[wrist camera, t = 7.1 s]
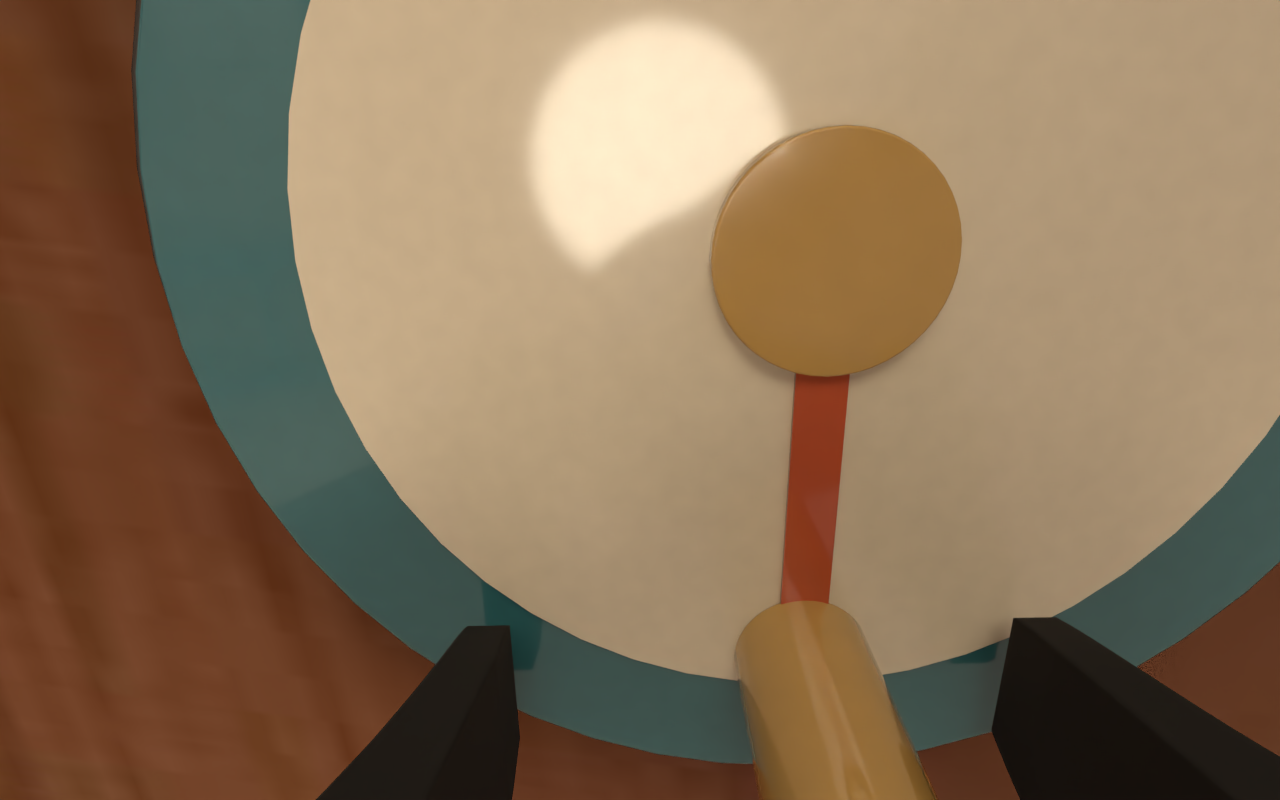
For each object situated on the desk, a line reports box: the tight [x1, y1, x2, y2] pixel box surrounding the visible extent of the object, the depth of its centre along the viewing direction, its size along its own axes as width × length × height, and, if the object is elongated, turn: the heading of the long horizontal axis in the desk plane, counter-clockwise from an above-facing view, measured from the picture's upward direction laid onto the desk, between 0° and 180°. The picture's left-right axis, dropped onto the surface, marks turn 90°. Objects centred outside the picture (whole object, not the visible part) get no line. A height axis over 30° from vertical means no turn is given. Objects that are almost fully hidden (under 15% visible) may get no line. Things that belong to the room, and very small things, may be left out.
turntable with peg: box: [135, 0, 1280, 800], centre depth 8 cm, size 17×17×5 cm
